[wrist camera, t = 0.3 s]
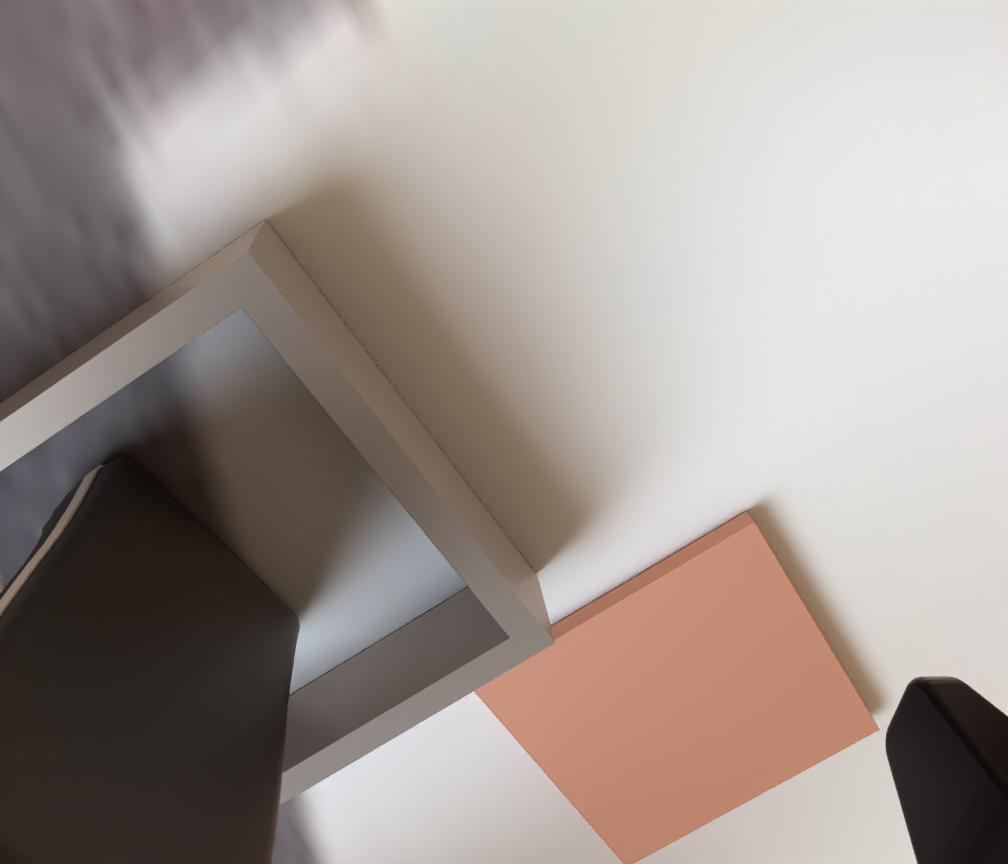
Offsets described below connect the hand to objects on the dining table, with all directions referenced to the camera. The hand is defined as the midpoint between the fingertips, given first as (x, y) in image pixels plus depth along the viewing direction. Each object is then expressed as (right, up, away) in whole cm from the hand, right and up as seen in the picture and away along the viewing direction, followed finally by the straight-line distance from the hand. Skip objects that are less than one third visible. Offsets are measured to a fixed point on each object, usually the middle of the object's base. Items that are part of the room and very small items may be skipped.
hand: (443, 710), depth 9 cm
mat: (+6, -5, +19) cm, 21 cm away
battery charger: (-8, -1, +16) cm, 18 cm away
